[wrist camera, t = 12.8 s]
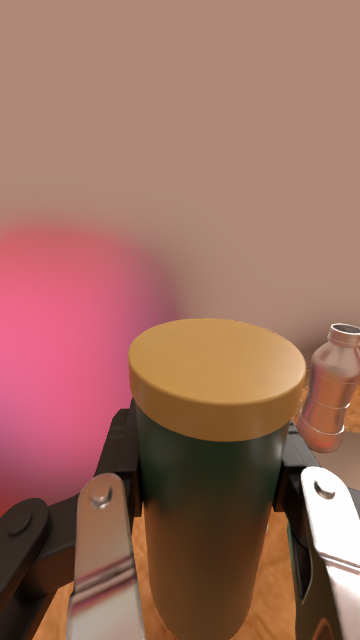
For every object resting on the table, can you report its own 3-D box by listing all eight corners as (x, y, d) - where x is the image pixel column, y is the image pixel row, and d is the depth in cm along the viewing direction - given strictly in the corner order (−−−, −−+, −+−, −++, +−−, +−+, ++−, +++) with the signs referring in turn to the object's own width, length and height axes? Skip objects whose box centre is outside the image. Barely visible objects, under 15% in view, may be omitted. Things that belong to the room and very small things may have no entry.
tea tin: (140, 657, 8) (105, 406, 4) (151, 506, 13) (139, 318, 9) (274, 649, 8) (359, 401, 4) (237, 502, 13) (263, 317, 9)
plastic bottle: (284, 434, 38) (308, 325, 31) (309, 420, 41) (336, 317, 34) (321, 467, 33) (360, 343, 26) (347, 448, 36) (389, 332, 29)
